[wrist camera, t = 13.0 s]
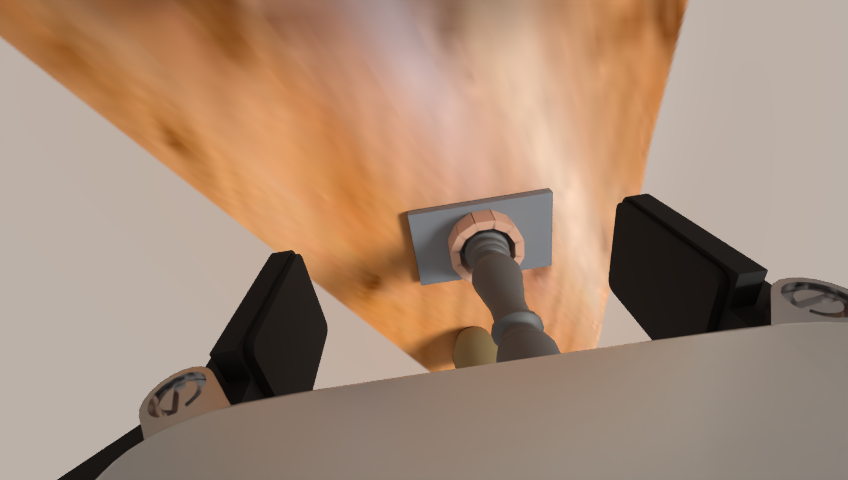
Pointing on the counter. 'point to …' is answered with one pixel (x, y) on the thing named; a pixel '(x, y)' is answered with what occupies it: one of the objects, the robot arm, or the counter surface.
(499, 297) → the candle holder
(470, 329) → the squeeze bottle
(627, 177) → the counter surface
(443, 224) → the socket board
